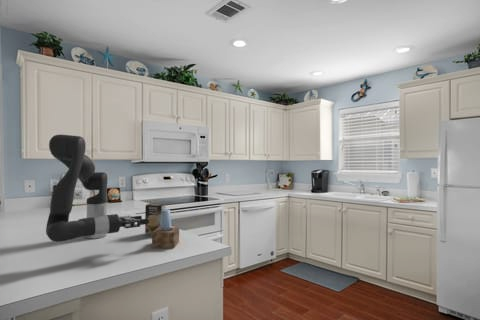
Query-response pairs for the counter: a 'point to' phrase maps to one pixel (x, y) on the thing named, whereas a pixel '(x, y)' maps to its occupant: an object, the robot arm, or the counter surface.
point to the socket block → (165, 238)
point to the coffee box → (153, 217)
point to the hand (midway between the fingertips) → (144, 219)
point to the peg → (165, 220)
